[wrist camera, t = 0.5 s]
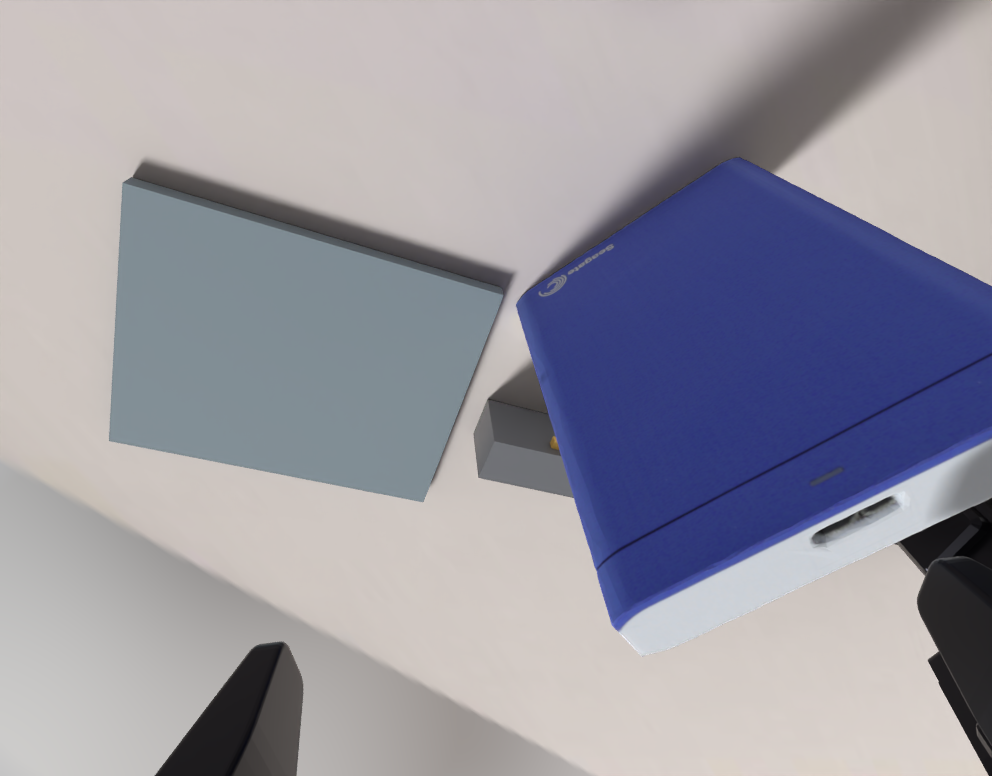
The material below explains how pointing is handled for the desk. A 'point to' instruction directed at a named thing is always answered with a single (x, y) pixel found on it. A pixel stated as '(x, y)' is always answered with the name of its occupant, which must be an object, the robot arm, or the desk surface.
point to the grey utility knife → (519, 449)
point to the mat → (287, 346)
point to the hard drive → (756, 398)
